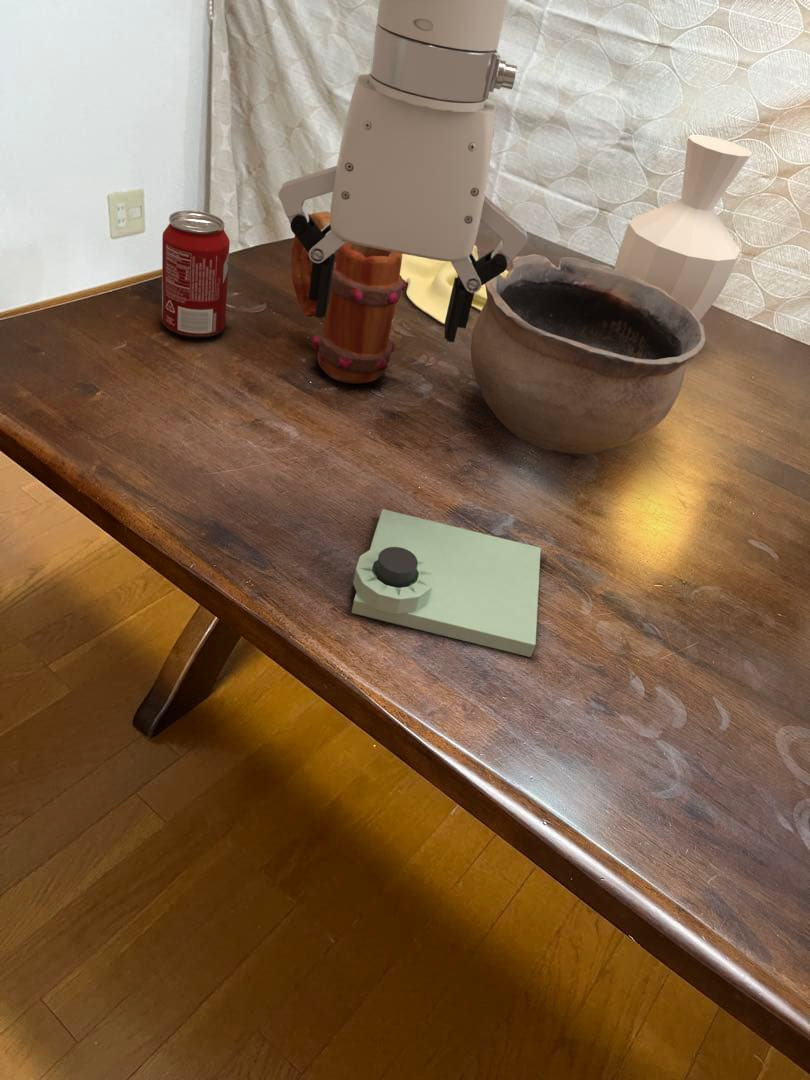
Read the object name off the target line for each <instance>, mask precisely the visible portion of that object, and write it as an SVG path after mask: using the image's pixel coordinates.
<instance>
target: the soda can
mask: <svg viewBox="0 0 810 1080" xmlns="http://www.w3.org/2000/svg"><path fill="white" fill-rule="evenodd" d="M168 221H169V223H168V225H167V226H166V227H165V229H164V230H163V232H162V238H161V239H162V245H161V246H162V249H161V250H162V253H161V256H162V258H161V261H162V263H161V264H162V265H161V270H162V271H161V322H162V325H163V326H164V327H165V328H166V329H168V330H169V331H170V332H171V333H174V334H176V335H178V336H180V337H183V338H187V339H194V340H201V339H202V340H203V339H207V338H211V337H213V336H217V335H218V334H221V332H222V331H224V330H225V327H226V316H227V315H226V314H227V298H228V282H229V281H228V279H229V262H230V243H231V242H230V238H229V236H228V235H227V233H226V231H225V222H224V220H223V219H222V218H221V217H219V216H217V215H215V214H212V213H209V212H205V211H200V210H179V211H175V212H173V213H171V214H169V217H168Z"/></svg>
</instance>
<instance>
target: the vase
mask: <svg viewBox="0 0 810 1080" xmlns="http://www.w3.org/2000/svg"><path fill="white" fill-rule="evenodd" d="M752 155H753V152H751V151H750V150H749V149H748V148H747V147H744V146H743V145H740V144H738V143H736V142H733V141H729V140H726V139H723V138H719V137H717V136H716V137H715V136H709V135H705V134H689V135H688V136H687V144H686V151H685V161H684V162H685V163H684V170H683V178H682V179H683V181H682V187H681V188H682V189H681V197H680V199H678V200H675V201H673V202H670V203H667V204H664V205H661V206H658V207H657V208H654V209H651V210H648V211H646V212H644V213H641V214H638V215H635V216H634V217H633V218H632V219H631V220H630V221H629V222H628V223H627V227H626V229H625V232H624V236H623V238H622V241H621V244H620V247H619V250H618V253H617V258H616V261H615V263H614V270H616V271H619V272H621V273H624V274H627V275H630V276H633V277H636V278H638V279H640V280H643V281H645V282H647V283H649V284H651V285H654V286H656V287H658V288H661V289H663V290H664V291H665V292H666V293H668V294H669V295H670V296H671V297H673V298H674V299H675V300H676V301H677V302H678V303H680V304H681V305H683V306H685V307H686V308H688V309H690V310H691V311H693V312H694V314H695V315H696V317H697V318H698V320H699V322H701V320H702V318H703V317H704V316H705V315H706V313H707V312H708V311H709V310H710V308H711V307H712V306H713V304H714V303H715V302H716V301H717V299H718V298H719V296H720V294H721V293H722V292H723V290H724V288H725V287H726V284H727V282H728V280H729V278H730V276H731V274H732V271H733V270H734V267H735V265H736V263H737V260H738V258H739V256H740V254H741V250H740V248H739V247H738V245H737V243H736V242H735V240H734V238H733V237H732V236H731V234H730V232H729V231H728V229H727V227H726V226H725V224H724V223H723V221H722V220H721V219H720V217H719V215H718V214H717V212H716V210H715V207H716V205H717V204H718V203H719V202H720V200H721V198H722V197H723V195H724V194H725V192H727V190H728V188H729V187H730V186H731V184H732V183H733V181H734V180H735V178H736V177H738V175H739V173H740V172H741V170H742V169H743V167H744V166H745V165H746V163H747V162H748V161H749V159H750V157H751V156H752Z"/></svg>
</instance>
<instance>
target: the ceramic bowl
mask: <svg viewBox="0 0 810 1080" xmlns="http://www.w3.org/2000/svg"><path fill="white" fill-rule="evenodd" d="M485 286H486V293H487V301H486V303H485V305H484V307H483V309H482V310H481V311H480V312H479V314H478V317H477V320H476V321H475V324H474V327H473V330H472V334H471V345H470V357H471V361H470V362H471V365H472V369H473V373H474V376H475V379H476V384H477V386H478V388H479V391H480V393H481V395H482V398H483V399H484V401H485V402H486V404H487V406H488V407H489V408H490V410H491V411H492V413H493V414H494V415H495V417H496V418H497V419H498V421H500V423H501V424H502V425H503V426H504V427H505V428H507V429H508V431H510V432H511V433H512V434H514V435H515V436H516V437H518V438H519V439H521V440H523V441H524V442H526V443H528V444H531V445H534V446H536V447H538V448H542V449H545V450H548V451H552V452H557V453H564V454H574V455H575V454H577V455H579V454H580V455H581V454H595V453H599V452H604V451H607V450H610V449H613V448H616V447H621V446H625V445H628V444H631V443H632V442H635V441H636V440H638V439H639V438H642V437H643V436H644V435H646V434H647V433H649V432H650V431H652V430H653V429H654V428H656V427H657V426H658V425H659V424H660V423H661V422H662V421H663V420H664V419H666V417H667V415H668V414H669V413H670V411H671V409H672V408H673V406H674V404H675V403H676V401H677V398H678V397H679V395H680V391H681V389H682V385H683V381H684V378H685V374H686V373H685V372H686V367H687V366H686V365H687V363H688V362H689V361H690V360H692V359H693V358H694V357H695V356H696V355H698V353H699V352H700V351H701V350H703V347H704V345H705V342H706V341H707V337H706V332H705V326H704V325H703V324H702V322H701V321H699V320H698V318H697V317H696V315H695V314H694V312H693V311H691V310H690V309H688V308H686V307H685V306H683V305H681V304H680V303H678V302H677V301H676V300H675V299H674V298H673V297H671V296H670V295H669V294H668V293H666V292H665V291H664V290H663V289H661V288H658V287H656V286H654V285H651V284H649V283H647V282H645V281H643V280H640V279H638V278H636V277H633V276H630V275H627V274H624V273H621V272H619V271H616V270H615V268H614V269H613V268H612V267H610V266H608V265H605V264H599V263H595V262H593V261H589V260H585V259H582V258H578V257H573V256H563V257H560V258H559V262H558V267H557V266H556V265H554V264H553V263H552V262H551V261H550V260H549V259H548V257H546V256H543V255H541V254H537V253H533V254H528V255H524V256H516V257H515V258H514V260H513V261H511V263H510V269H509V271H508V274H507V277H506V278H504V277H502V276H501V275H498V276H496V277H495V278H493V279H492V280H490V281H488V282H487V283H485Z"/></svg>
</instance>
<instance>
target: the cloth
mask: <svg viewBox="0 0 810 1080" xmlns="http://www.w3.org/2000/svg"><path fill="white" fill-rule="evenodd" d="M472 253H473V255H474V257H475V259H476V261H477V260H479V254H478V247H477V245H476V244H474V248H473V250H472ZM508 272H509V271H508V270H507V269H506V270H505V271H504V272H503V273H501V274H500V275H501V276H502V277H504V278H506V277H507V274H508ZM400 276H401V277H402V279H404V280H405V282H406V284H407V288H406V297H407V298H408V299H409V300H410V302H411V303H412V304H413V305H414V306H416V307H417V308H418V309H419V310H421V311H422V312H424V313H425V314H427V315H428V316H430V317H432V318H433V319H435V320H436V321H437V322H438V323H441V324H442V325H445V319H446V315H447V310H448V306H449V302H450V297H451V293H452V288H453V284H454V279H455V278H458V274H457V272H456V270H455V269H454V267H453V265H452V263H451V262H447V261H440V260H434V259H428V258H423V257H418V256H412V255H407V254H402V263H401V269H400ZM486 301H487V293H486V286H485V284H484V285H482V286H481V288H480V290H479V291H477V292H475V293H474V297H473V301H472V305H471V307H473V308H475V309H476V310H477V311H480V312H481V310H482V309H483V307H484V305H485V303H486Z"/></svg>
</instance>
